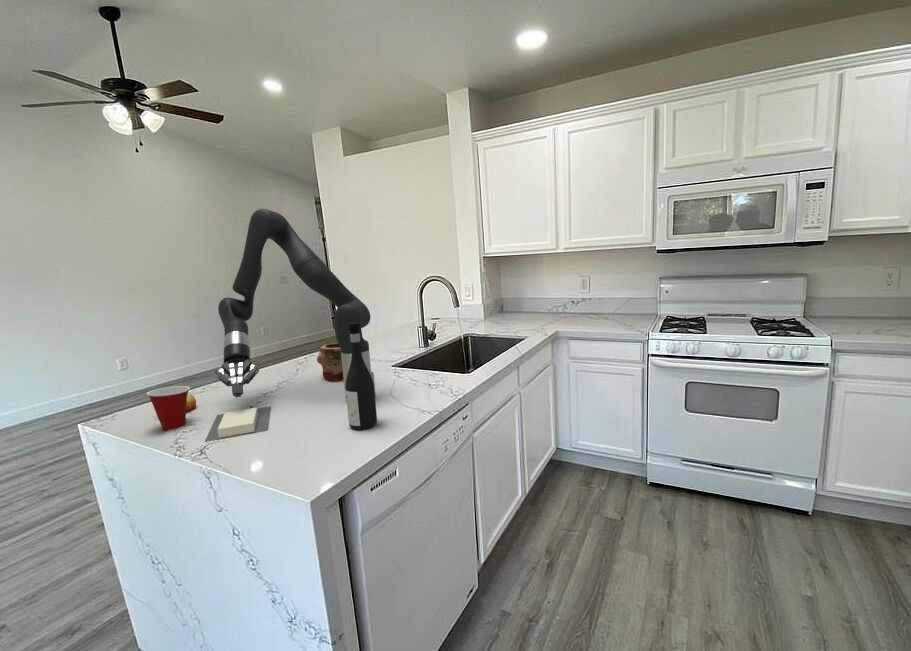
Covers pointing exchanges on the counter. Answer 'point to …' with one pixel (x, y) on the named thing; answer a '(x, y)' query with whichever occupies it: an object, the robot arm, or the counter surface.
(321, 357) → the decorative planter
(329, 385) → the counter surface
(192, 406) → the fruit
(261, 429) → the rubber mat
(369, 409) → the wine bottle
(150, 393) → the plastic cup
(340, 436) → the counter surface
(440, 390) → the counter surface
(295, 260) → the robot arm
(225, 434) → the cream rectangular block
